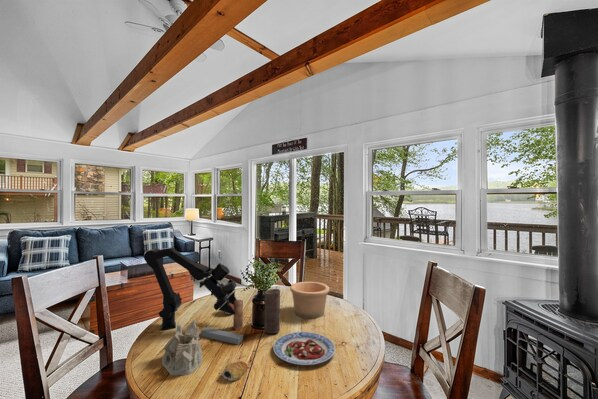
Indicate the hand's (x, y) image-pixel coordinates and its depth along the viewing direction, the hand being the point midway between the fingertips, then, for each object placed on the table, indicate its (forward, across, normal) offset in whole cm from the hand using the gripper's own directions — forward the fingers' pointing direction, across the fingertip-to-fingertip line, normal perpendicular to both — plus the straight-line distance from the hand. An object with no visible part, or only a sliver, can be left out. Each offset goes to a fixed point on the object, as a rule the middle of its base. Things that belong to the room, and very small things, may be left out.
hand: (236, 309), depth 136 cm
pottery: (+32, +20, -19) cm, 43 cm away
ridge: (+3, -11, +9) cm, 14 cm away
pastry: (+12, -36, +1) cm, 38 cm away
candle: (+19, -4, -6) cm, 20 cm away
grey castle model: (-4, -30, +17) cm, 34 cm away
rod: (+7, 0, +6) cm, 9 cm away
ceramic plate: (+30, -20, -17) cm, 39 cm away
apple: (+1, +18, +12) cm, 21 cm away
